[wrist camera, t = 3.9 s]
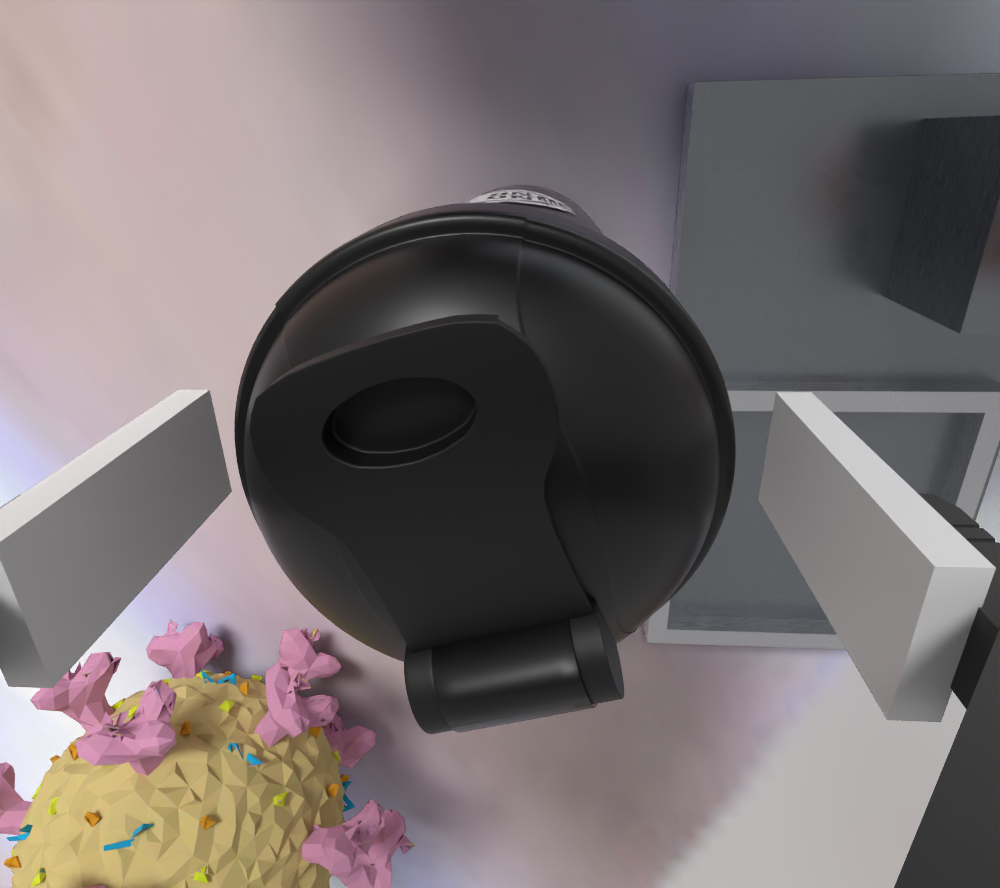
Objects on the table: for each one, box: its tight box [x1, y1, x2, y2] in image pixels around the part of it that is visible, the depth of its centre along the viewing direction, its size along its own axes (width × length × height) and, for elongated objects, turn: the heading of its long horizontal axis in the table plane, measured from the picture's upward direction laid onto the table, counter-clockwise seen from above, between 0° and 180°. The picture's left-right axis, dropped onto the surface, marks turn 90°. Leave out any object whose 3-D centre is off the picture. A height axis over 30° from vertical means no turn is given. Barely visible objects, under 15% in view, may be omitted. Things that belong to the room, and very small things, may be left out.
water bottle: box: [235, 185, 736, 734], centre depth 21 cm, size 10×10×23 cm
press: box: [642, 73, 1000, 649], centre depth 29 cm, size 16×28×8 cm, turn 1°
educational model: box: [0, 620, 414, 888], centre depth 35 cm, size 23×22×20 cm
